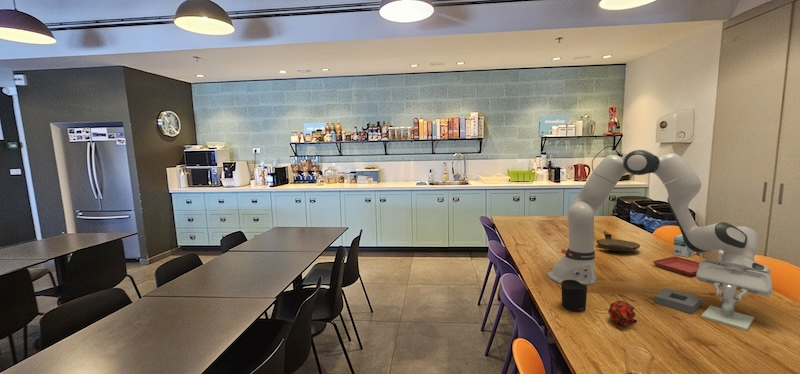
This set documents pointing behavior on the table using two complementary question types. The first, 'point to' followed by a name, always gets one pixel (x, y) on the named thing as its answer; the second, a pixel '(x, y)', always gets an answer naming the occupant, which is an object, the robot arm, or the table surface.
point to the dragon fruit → (622, 313)
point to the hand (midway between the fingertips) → (728, 297)
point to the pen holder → (573, 295)
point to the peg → (728, 299)
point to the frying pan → (616, 244)
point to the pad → (728, 318)
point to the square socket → (678, 300)
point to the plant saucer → (678, 265)
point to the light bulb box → (681, 247)
